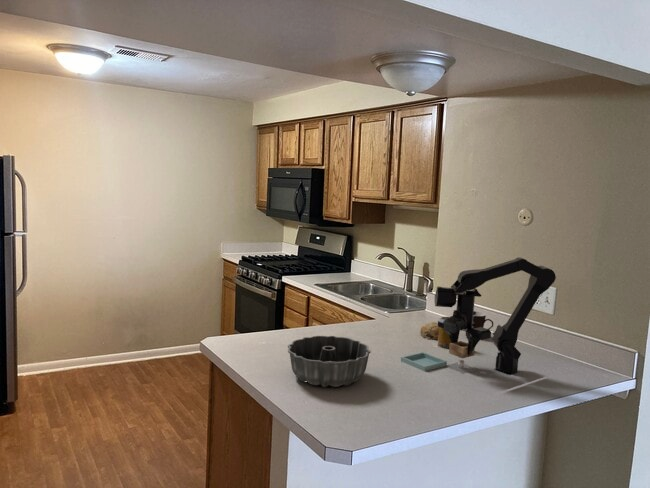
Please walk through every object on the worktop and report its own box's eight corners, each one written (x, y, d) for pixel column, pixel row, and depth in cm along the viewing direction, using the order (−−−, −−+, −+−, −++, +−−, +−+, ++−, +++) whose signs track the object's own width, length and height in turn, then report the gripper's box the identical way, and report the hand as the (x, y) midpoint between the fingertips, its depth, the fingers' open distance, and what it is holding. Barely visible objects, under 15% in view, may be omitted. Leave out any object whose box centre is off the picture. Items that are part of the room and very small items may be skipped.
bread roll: (418, 345, 217) (418, 330, 213) (422, 329, 225) (422, 315, 221) (442, 348, 214) (443, 333, 210) (445, 332, 223) (446, 317, 218)
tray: (446, 367, 182) (446, 361, 181) (424, 372, 175) (424, 366, 175) (422, 357, 191) (423, 352, 190) (400, 362, 184) (401, 356, 184)
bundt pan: (295, 396, 151) (297, 363, 150) (279, 365, 176) (280, 336, 175) (380, 391, 158) (382, 359, 157) (353, 361, 183) (354, 334, 182)
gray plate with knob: (477, 370, 179) (478, 362, 179) (462, 374, 175) (463, 366, 174) (459, 363, 186) (459, 355, 185) (444, 367, 181) (444, 359, 181)
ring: (474, 355, 179) (474, 345, 179) (462, 358, 175) (463, 348, 175) (460, 350, 184) (460, 341, 183) (448, 353, 180) (449, 343, 180)
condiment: (444, 344, 208) (446, 314, 207) (461, 350, 202) (464, 319, 201) (432, 347, 204) (434, 317, 202) (450, 353, 197) (452, 322, 196)
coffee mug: (458, 334, 223) (460, 311, 222) (474, 332, 227) (476, 310, 226) (477, 342, 213) (479, 318, 211) (493, 340, 216) (495, 317, 215)
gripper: (428, 304, 180) (425, 348, 182) (472, 317, 165) (468, 364, 167) (449, 301, 187) (446, 343, 189) (493, 313, 172) (489, 358, 174)
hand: (461, 352), depth 180 cm, fingers closed on ring, 6 cm apart
